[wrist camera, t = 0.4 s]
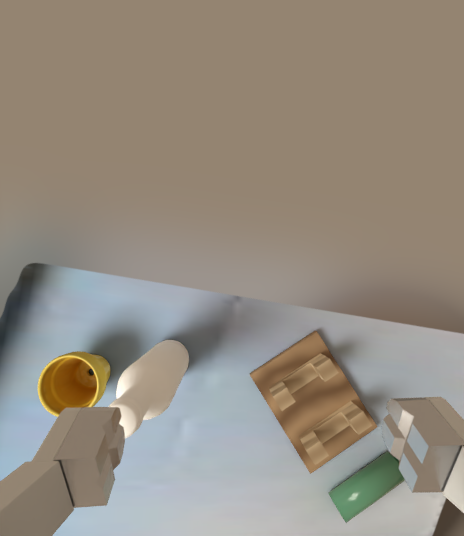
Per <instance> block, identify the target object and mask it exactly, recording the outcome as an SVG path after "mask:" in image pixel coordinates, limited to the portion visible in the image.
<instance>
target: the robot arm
mask: <svg viewBox="0 0 464 536" xmlns="http://www.w3.org/2000/svg"><path fill="white" fill-rule="evenodd" d="M386 409H387V410H388V412H389V413H390V414H389V415H387V416H386V417H385V418H384V419H383V423H382V435H383V439H384V442H385V445H386V447H387V448H388V450H389V452H390V454H392V455H393V456H394V457H396V458H397V459H398V460H399V470H400V472H401V474H402V475H403V477H404V479H405V481H406V483H407V484H408V486H409V488H410V490H411V491H412V492H443V495H444V496H445V497H446V498H448V499H449V500H450V501H451V502H452V503H453V504H454V505H455V506H456V507H458V508H459V509H460V510H461V511H462V512H463V513H464V420H463V419H462V418H461V416H460V415H459V414H458V413H457V412H456V411H455V410H454V409H453V408H452V406H451V405H450V404H449V403H448V402H447V401H446V400H445V399H443V398H441V397H426V398H398V399H391V400H390V401H388V404H387V407H386ZM120 419H121V412H120V408H118V407H83V408H65V409H64V410H63V411H62V412H61V413H60V414H59V416H58V418H57V419H56V421H55V423H54V424H53V426H52V428H51V429H50V431H49V433H48V435H47V436H46V438H45V440H44V441H43V443H42V445H41V446H40V448H39V450H38V451H37V453H36V455H35V456H34V458H33V460H32V461H31V462H25V463H24V464H22V465H21V466H20V467H18V468H17V469H16V470H15V471H13V472H12V473H11V474H9V475H8V476H7V477H6V478H4V479H3V480H2V481H0V536H52V535H53V534H54V533H55V532H56V530H57V529H58V528H59V527H60V526H61V524H62V523H63V522H64V521H65V520H66V519H67V517H68V516H69V515H70V514H71V513H72V512H73V510H74V508H76V507H90V506H103V505H107V503H108V500H109V497H110V493H111V490H112V487H113V484H114V481H115V477H114V472H113V470H114V469H115V468H116V467H117V466H118V465H119V464H120V461H121V458H122V454H123V449H124V443H125V433H124V427H123V426H121V425H120V424H119V422H120Z"/></svg>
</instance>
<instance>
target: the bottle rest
mask: <svg viewBox="0 0 464 536" xmlns="http://www.w3.org/2000/svg"><path fill="white" fill-rule="evenodd" d="M250 376H251V377H252V379H253V381H254V382H255V384H256V386H257V387H258V389H259V391H260V392H261V394H262V395H263V397H264V399H265V400H266V402H267V404H268V405H269V407H270V408H271V410H272V412H273V413H274V415H275V417H276V418H277V420H278V421H279V423H280V425H281V426H282V428H283V430H284V431H285V433H286V434H287V436H288V438H289V439H290V441H291V443H292V444H293V446H294V447H295V449H296V451H297V452H298V454H299V456H300V457H301V459H302V460H303V462H304V464H305V465H306V467H307V469H308V470H309V472H310V474H311V473H312V472H314V471H315V470H316V469H318V468H319V467H321V466H322V465H324V464H325V463H326V462H328V461H329V460H331V459H332V458H334V457H335V456H336V455H338V454H339V453H341V452H342V451H344V450H345V449H346V448H348V447H349V446H351V445H352V444H354V443H355V442H356V441H358V440H359V439H361V438H362V437H364V436H365V435H367V434H368V433H369V432H371V431H372V430H374V429H375V428H377V425H376V424H375V422H374V421H373V419H372V417H371V416H370V414H369V413H368V411H367V410H366V408H365V406H364V405H363V403H362V402H361V400H360V399H359V397H358V395H357V394H356V392H355V391H354V389H353V388H352V386H351V384H350V383H349V381H348V380H347V378H346V377H345V375H344V373H343V372H342V370H341V369H340V367H339V365H338V364H337V362H336V361H335V359H334V358H333V356H332V354H331V353H330V351H329V350H328V348H327V347H326V345H325V343H324V342H323V340H322V339H321V337H320V336H319V334H318V332H317V331H314V332H312V333H311V334H309V335H308V336H306V337H305V338H303V339H302V340H300V341H298V342H297V343H295V344H294V345H292V346H291V347H289V348H288V349H286V350H285V351H283V352H282V353H280V354H279V355H277V356H276V357H274V358H272V359H271V360H269V361H268V362H266V363H265V364H263V365H262V366H260V367H259V368H257V369H256V370H254V371H253V372H251V373H250Z"/></svg>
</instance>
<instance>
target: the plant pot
mask: <svg viewBox="0 0 464 536" xmlns="http://www.w3.org/2000/svg"><path fill="white" fill-rule="evenodd" d="M90 369H92V370H93V371H94V374H93V375H90V374H89V370H90ZM109 377H110V365H109V363H108V361H107V360H106V359H105V358H103V357H102V356H100V355H91V354H89V353H86V352H71V353H68V354H65V355H62V356H59V357H57V358H55V359H54V360H52V361H51V362H50V363H49V364H48V365H47V366H46V367H45V368H44V369H43V371H42V373H41V375H40V378H39V381H38V395H39V398H40V401H41V403H42V405H43V406H44V408H45V409H46V410H47V411H48V412H50V413H51V414H53V415H55V416H57V417H58V416H59V414H60V413H61V412H62V411H63V410H64V409H65V408H83V407H93V406H94V405H95V404H96V403H97V402H98V401H99V400H100V399H101V397H102V396H103V394H104V391H105V388H106V383H107V381H108V379H109Z"/></svg>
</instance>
